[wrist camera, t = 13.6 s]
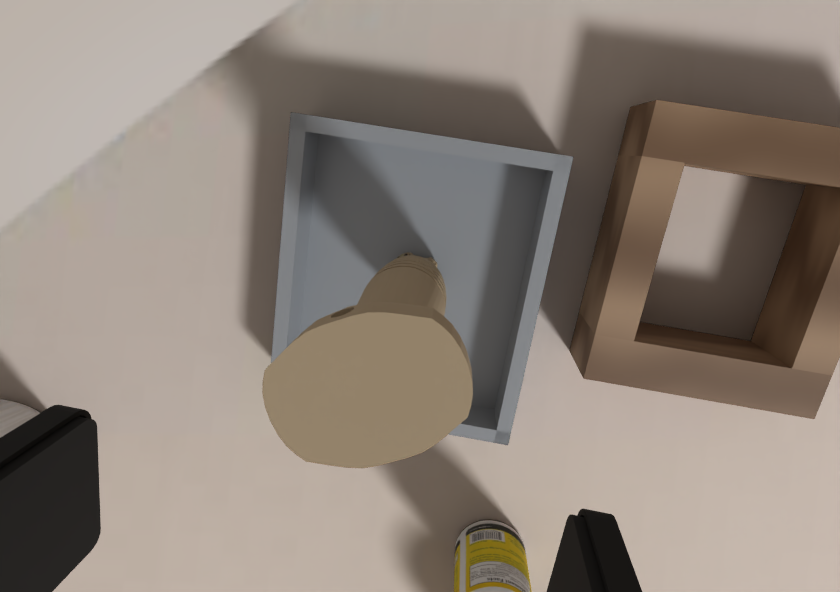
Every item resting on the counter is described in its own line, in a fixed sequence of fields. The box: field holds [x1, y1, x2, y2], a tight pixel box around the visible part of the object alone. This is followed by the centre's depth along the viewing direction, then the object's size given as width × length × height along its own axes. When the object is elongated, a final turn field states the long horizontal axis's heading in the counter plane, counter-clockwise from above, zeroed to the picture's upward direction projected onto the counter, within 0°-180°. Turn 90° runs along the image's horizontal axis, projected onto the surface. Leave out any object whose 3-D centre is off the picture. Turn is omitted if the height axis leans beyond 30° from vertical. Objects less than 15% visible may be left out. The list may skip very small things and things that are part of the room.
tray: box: [271, 112, 573, 445], centre depth 29 cm, size 16×14×4 cm
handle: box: [262, 252, 473, 468], centre depth 23 cm, size 5×6×15 cm
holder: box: [570, 100, 840, 419], centre depth 27 cm, size 14×12×4 cm
